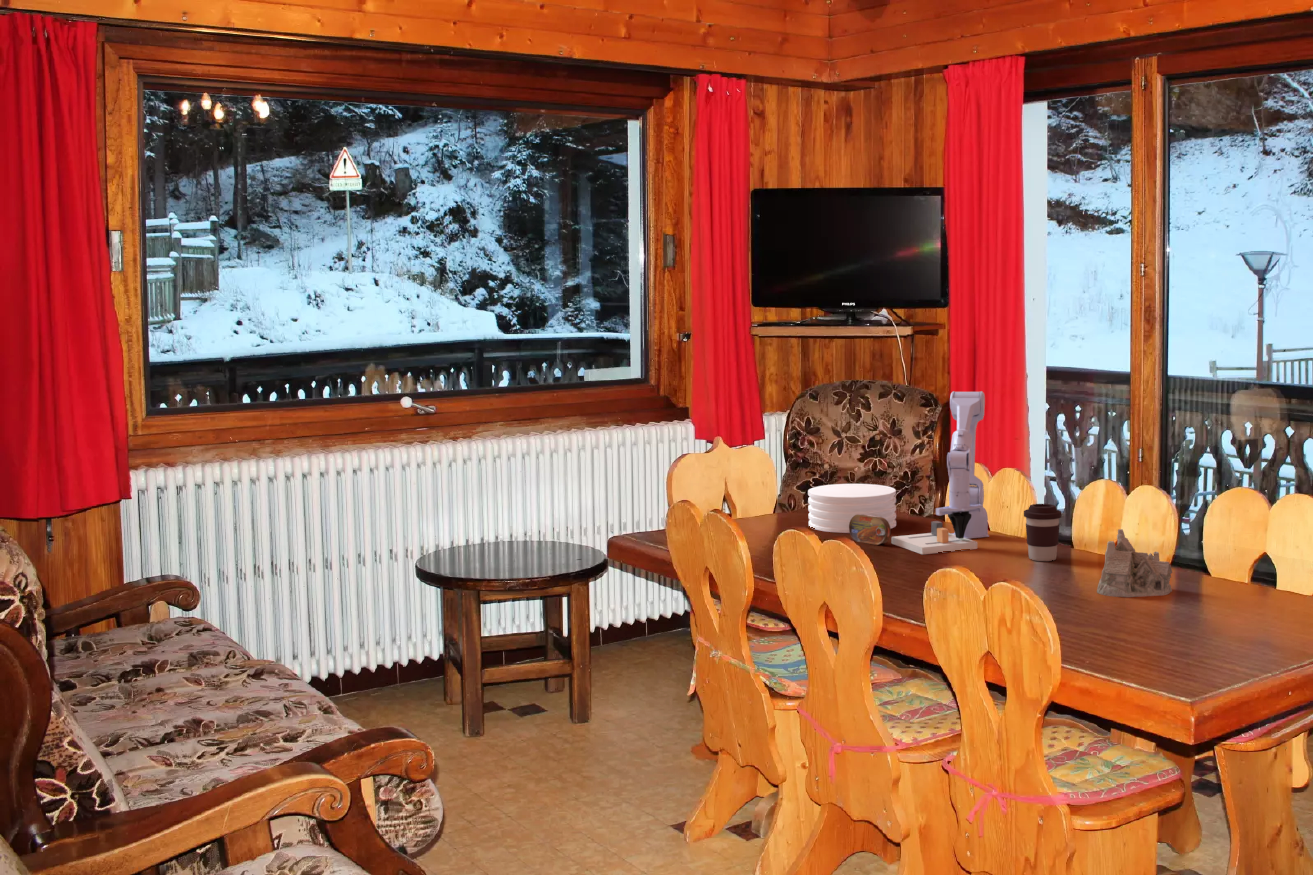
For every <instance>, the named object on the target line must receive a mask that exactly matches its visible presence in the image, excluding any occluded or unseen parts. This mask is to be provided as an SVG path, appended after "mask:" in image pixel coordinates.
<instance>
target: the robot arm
mask: <svg viewBox="0 0 1313 875" xmlns="http://www.w3.org/2000/svg"><path fill="white" fill-rule="evenodd" d="M985 405H986V396H985V392H983V391H982V390H981V391H954V390H953V391H952V392H951V393H950V398H949V408H950V412H951V416H952V418H953V420H955V421H956V430H955V431H953V433H952V435H951V442H950V450H949V452H947V455H946V467H947V472H948V473H947V474H948V480H949V482H948V483H949V484H948V486H949V488H948V489H949V490H948V491H949V492H948V502H949V505H948V506H943V507H936V508H935V515H936V516H940V517H941V516H944V515H947V517H948V519H949V521H950V522H951V525H952V528H953V531H954V532H952V533H951V534H954V535H956V538H959V539H960V538H966V539H970V540H972V539H977V538H978V539H980V538H988V537H990V534H989V533H988V532H989V531H988V530H989V529H988V528H989V526H988V524H989V523H988V521H989V520H988V519H989V517H988V512H987V509H986V508H985V507H984V501H985V493H984V492H985V489H984V482H983V481H982V480H981V479H980V478H979V477H978V476H976V475H975V470H976V469H975V467H976V465H975V464H976V435H977V433H976V432H977V426H978V423H979V422H980V421H983V420H984V416H985Z"/></svg>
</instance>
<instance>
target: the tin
mask: <svg viewBox="0 0 1313 875" xmlns="http://www.w3.org/2000/svg"><path fill="white" fill-rule="evenodd" d="M849 532H850V533H849V534H850V537H851V538H852V540H854V541H855V542H856V543H862V544H867V545H868V544H869V545H873V546H880V545H884V544H886V543H887V542H888V541H889V540H890V538H891V529H890V525H889V523H888V521H887V520H886V519H885V518H883V517H877V516H870V515H855V516H853V517H852V519H851V520H850V523H849Z"/></svg>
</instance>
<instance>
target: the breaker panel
mask: <svg viewBox="0 0 1313 875" xmlns="http://www.w3.org/2000/svg"><path fill="white" fill-rule="evenodd" d="M890 538H891V544H892V545H895V546H897V547H900V548H903V549H906V550H909V551H911V552H915V553H917V554H920V555H931V554H939V553H938V552H942V553H944V552H943V551H951V552H956V551H955V550H961V549H970V550H976V549H978V541H976V540H972V539H966V538H960V539H959V538H956V535H954V534H951V533H950V532H948V543H941V542H938V541H937V536H935V535H932V534H931V532H927V533H917V534H916V533H915V534H909V535H898V536H896V535H895V536H890ZM961 551H962V550H961Z"/></svg>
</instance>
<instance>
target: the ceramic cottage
mask: <svg viewBox="0 0 1313 875" xmlns="http://www.w3.org/2000/svg"><path fill="white" fill-rule="evenodd" d="M1116 539H1117V545H1116V544H1115V542H1114V540H1113V541H1109V540H1108V541H1107V545H1106V550H1105V553H1104V554H1105V555H1104V556H1105V557H1104V558H1105V559H1104V566H1103V569H1102V570H1101V577H1100V579H1099V582H1098V584H1097V589H1096V593H1097V594H1100V595H1103V596H1105V597H1106V596H1107V597H1117V598H1120V597H1121V598H1135V597H1142V598H1143V597H1154V596H1155V597H1157V596H1159V597H1160V596H1166V595H1169V594H1170V593H1172V592H1173V589H1172V585H1171V584H1170V581H1171V578H1172V574H1173V569H1172V566H1171V563H1170V561H1161V560H1160V552H1159V551H1154V552H1153V553H1151V552H1150V553H1149V554H1148V552H1137V551H1136V549H1135V548H1134V546H1133V545H1132V543H1131V542H1130V541H1129V539H1128V538H1127V537H1126V535H1125V532H1124V530H1123V529H1121V528H1120V529H1118V530H1117V535H1116Z"/></svg>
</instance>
